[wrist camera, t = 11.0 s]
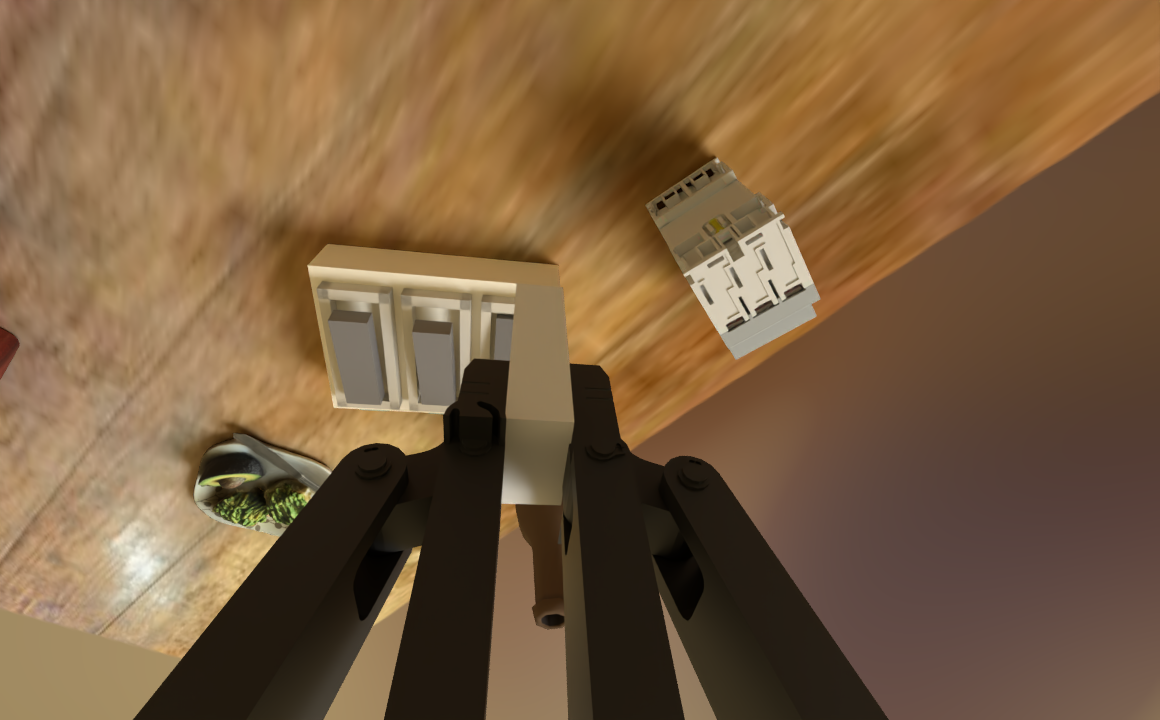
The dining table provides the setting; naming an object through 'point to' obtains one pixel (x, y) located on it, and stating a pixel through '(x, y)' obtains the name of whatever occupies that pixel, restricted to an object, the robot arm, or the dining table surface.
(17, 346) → the plant pot
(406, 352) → the console
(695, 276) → the circuit breaker
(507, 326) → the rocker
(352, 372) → the rocker
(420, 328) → the block
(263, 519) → the salad plate
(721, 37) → the dining table surface
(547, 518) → the beer bottle
